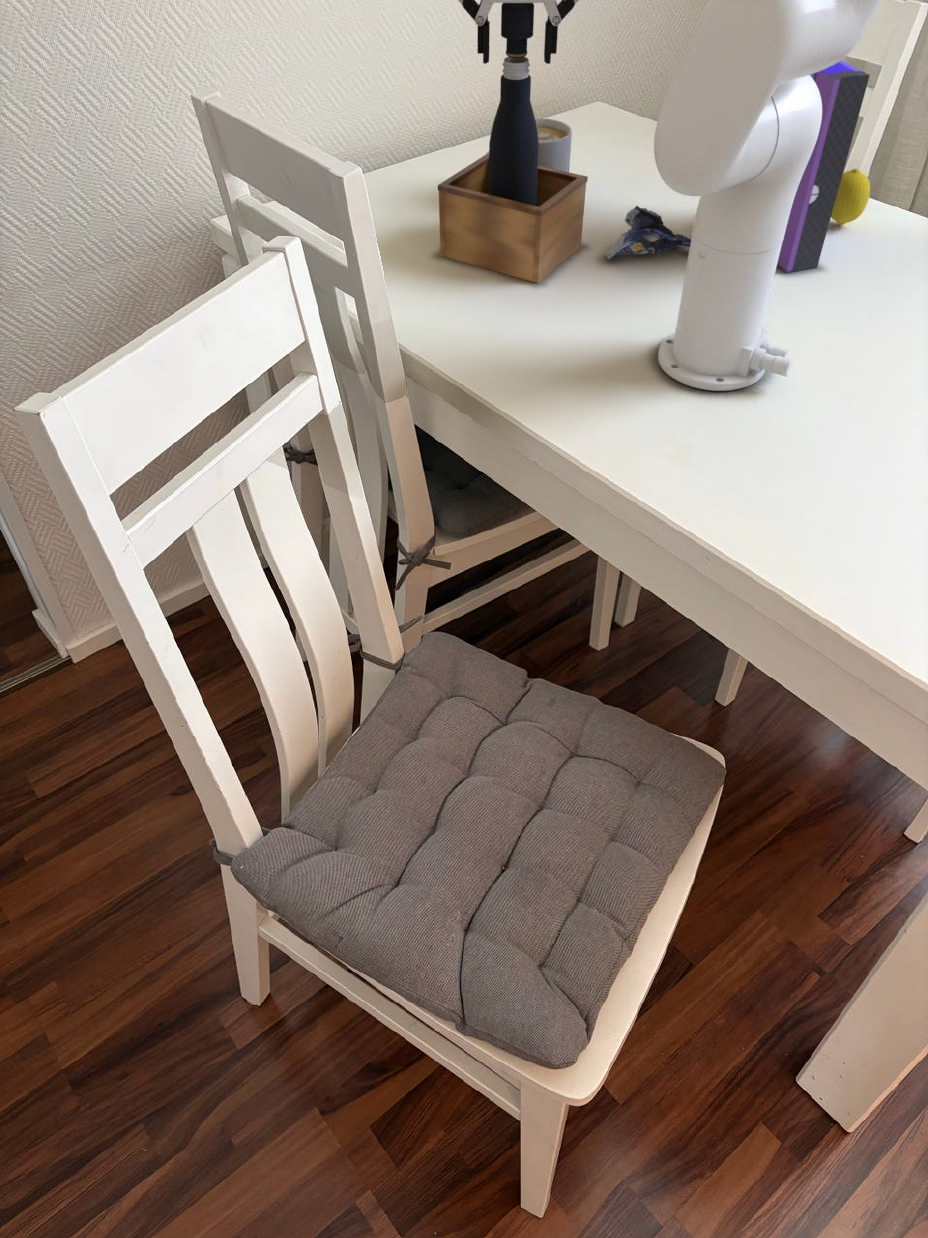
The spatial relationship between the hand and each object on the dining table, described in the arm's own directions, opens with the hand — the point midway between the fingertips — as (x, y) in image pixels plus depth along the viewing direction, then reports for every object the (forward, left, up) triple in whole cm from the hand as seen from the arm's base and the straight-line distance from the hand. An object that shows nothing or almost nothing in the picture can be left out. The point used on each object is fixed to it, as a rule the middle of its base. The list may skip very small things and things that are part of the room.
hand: (516, 58), depth 115 cm
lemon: (-37, -32, -24) cm, 55 cm away
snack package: (-16, -10, -24) cm, 31 cm away
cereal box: (-30, -21, -24) cm, 44 cm away
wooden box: (0, 0, -24) cm, 24 cm away
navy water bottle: (0, 0, -24) cm, 24 cm away
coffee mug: (+7, -16, -24) cm, 30 cm away
